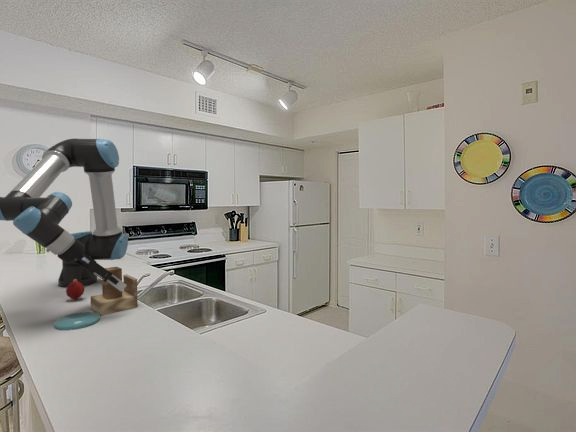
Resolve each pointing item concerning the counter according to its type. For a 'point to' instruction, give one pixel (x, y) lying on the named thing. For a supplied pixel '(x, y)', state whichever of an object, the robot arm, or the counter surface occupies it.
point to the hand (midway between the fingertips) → (117, 284)
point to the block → (109, 289)
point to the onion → (75, 289)
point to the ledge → (117, 299)
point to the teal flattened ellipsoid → (76, 320)
